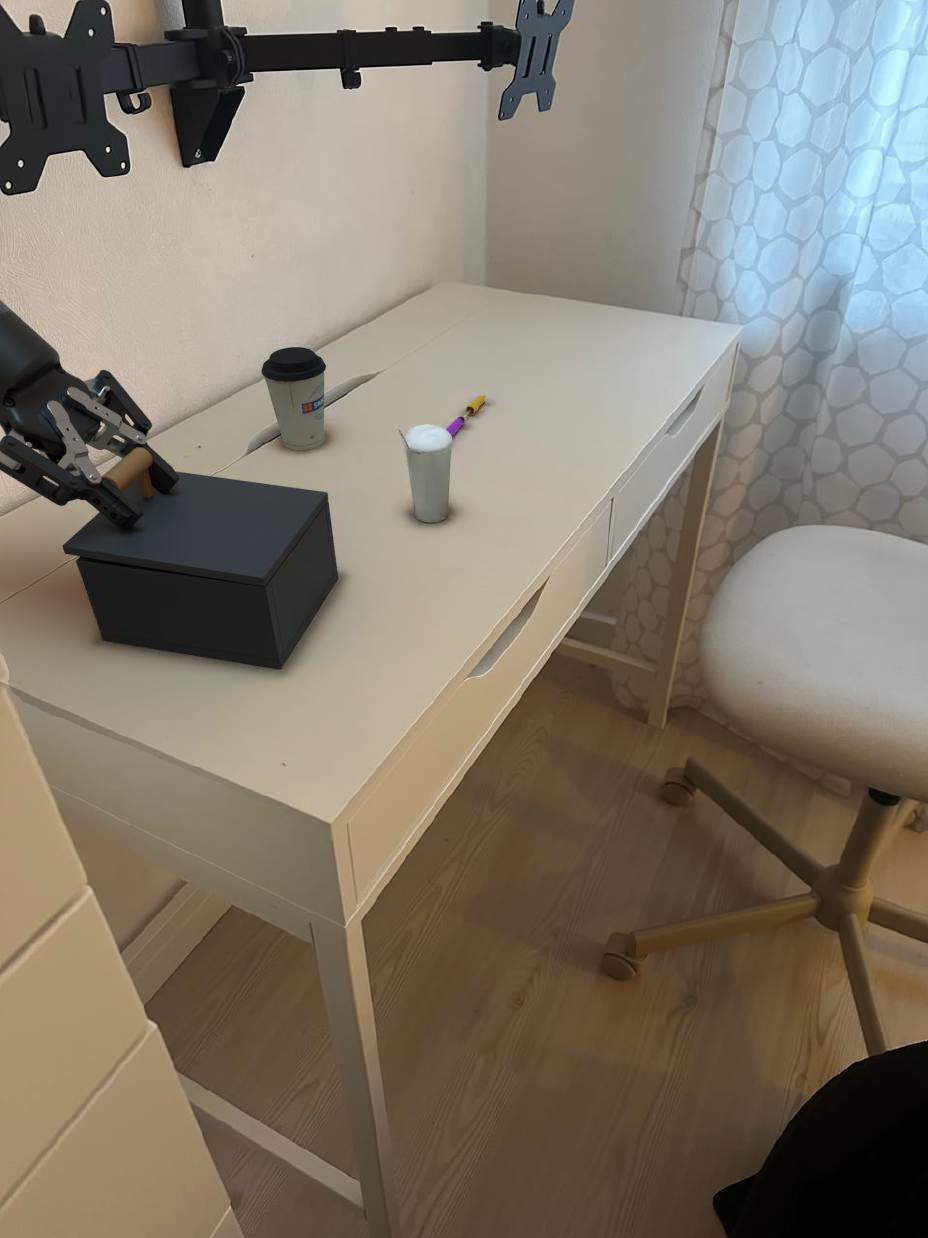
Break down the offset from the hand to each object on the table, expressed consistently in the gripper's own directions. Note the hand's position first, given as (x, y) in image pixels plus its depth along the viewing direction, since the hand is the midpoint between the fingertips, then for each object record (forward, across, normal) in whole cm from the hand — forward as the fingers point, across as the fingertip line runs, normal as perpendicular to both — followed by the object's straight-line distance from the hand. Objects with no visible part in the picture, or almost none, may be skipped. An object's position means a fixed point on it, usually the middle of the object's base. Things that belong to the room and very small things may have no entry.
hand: (154, 503), depth 71 cm
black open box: (+10, 0, +4) cm, 11 cm away
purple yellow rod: (+17, +38, -4) cm, 42 cm away
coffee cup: (+6, +31, +8) cm, 33 cm away
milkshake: (+19, +18, -5) cm, 27 cm away
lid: (+4, 0, -2) cm, 4 cm away
